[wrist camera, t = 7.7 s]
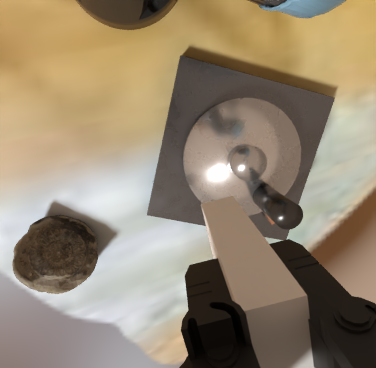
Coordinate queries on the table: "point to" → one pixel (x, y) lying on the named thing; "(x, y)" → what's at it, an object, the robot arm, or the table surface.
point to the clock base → (206, 99)
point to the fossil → (55, 255)
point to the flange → (246, 158)
